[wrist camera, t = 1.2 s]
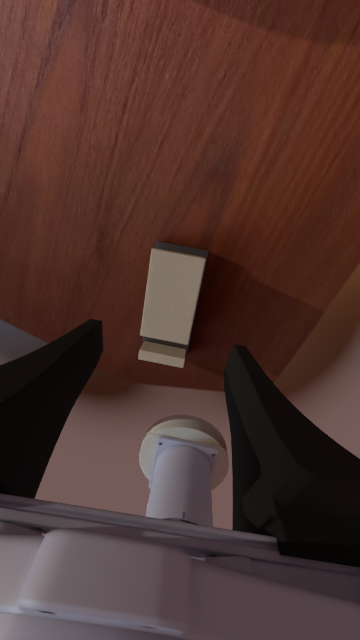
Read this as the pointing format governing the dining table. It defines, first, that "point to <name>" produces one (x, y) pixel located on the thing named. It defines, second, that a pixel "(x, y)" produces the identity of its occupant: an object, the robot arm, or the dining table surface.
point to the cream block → (171, 302)
